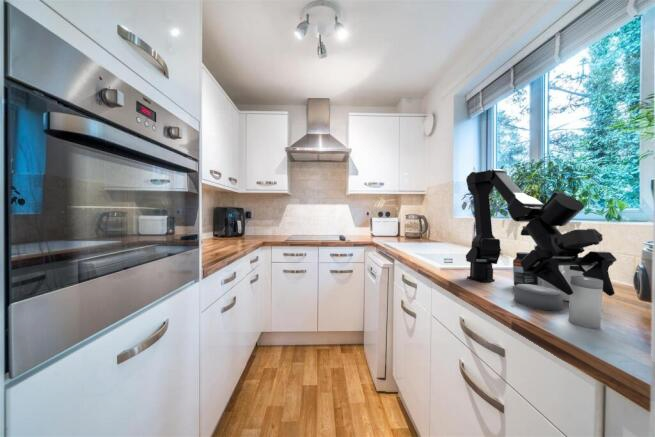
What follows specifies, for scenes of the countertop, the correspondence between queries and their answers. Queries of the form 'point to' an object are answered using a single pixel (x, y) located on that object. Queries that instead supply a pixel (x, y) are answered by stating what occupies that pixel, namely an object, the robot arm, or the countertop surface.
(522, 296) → the charcoal stand
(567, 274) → the medicine bottle
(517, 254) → the supplement bottle
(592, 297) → the white and grey cylinder
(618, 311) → the countertop surface
